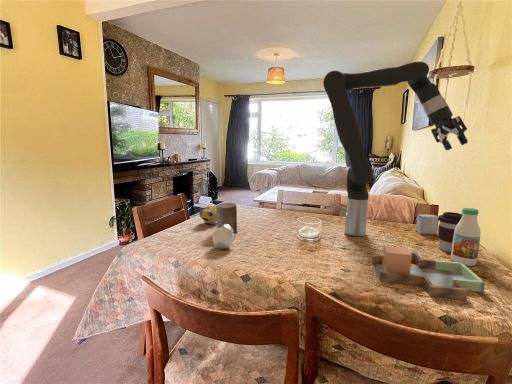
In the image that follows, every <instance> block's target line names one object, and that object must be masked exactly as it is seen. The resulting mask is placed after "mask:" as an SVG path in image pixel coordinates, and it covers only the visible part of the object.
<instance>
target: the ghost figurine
mask: <svg viewBox="0 0 512 384" xmlns="http://www.w3.org/2000/svg"><path fill="white" fill-rule="evenodd" d="M233 232H234V230H233V229H232V228H231V226H230V225H228V224H224V225H223V226H222V227H221V228H218V229H217V228H216V229H215V230H214V232H213V234H212V243H213V245H214V246H215V247H216V248H217V249H221V250H224V249H228V248H230V247H231V246H232V245H233V243H234V241H236V234H233Z"/></svg>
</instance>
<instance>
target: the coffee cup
mask: <svg viewBox="0 0 512 384" xmlns="http://www.w3.org/2000/svg"><path fill="white" fill-rule="evenodd" d="M437 217H438V220H439V223H438V233H437V235H438V248H439V250H441V251H444V252H447V253H448V252H449V253H451V251H452V243H453V236H454V231H455V228H456V226H457V224H458V223H459V221H460V220H461V218H462V213H459V212H454V211H453V212H452V211H445V212H443V213H442V214H440V215H438V216H437Z"/></svg>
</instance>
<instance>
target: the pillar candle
mask: <svg viewBox="0 0 512 384" xmlns="http://www.w3.org/2000/svg"><path fill="white" fill-rule="evenodd" d="M215 205H216V209H217V221H216V230H217V229H218V228H221V227H222V226H223V225H224V224H228V225H230V226H231V228H232V229H233V230H234V232H233V234H235V233H236V234H237V233H238V213H237V210H238V209H237V204H236V203H235V202H233V203H231V202H223V203H218V204H215ZM236 234H235V235H236Z"/></svg>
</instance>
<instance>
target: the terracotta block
mask: <svg viewBox="0 0 512 384" xmlns="http://www.w3.org/2000/svg"><path fill="white" fill-rule="evenodd" d="M382 251H383V252H382V256H383V261H382V269H383V271H384V272H394V273H405V274H410V269H411V266H412V261H411V260H412V254H411V253H410V252H411V251H410V250H409V249H408V248H407V247H400V246H387V245H383V250H382Z"/></svg>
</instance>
